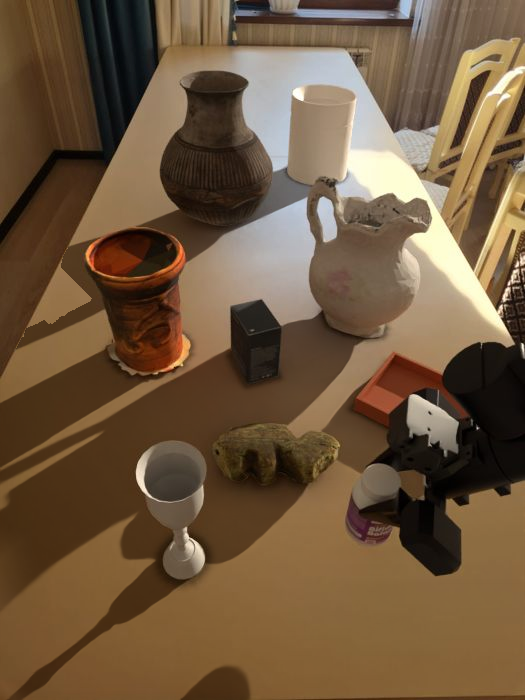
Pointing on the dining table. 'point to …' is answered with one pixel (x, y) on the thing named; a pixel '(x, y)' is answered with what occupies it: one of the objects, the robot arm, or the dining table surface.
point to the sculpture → (273, 453)
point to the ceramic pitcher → (364, 258)
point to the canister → (320, 132)
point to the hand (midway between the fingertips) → (364, 491)
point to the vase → (215, 153)
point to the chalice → (175, 500)
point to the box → (255, 341)
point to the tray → (398, 387)
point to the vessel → (141, 297)
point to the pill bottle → (367, 491)
